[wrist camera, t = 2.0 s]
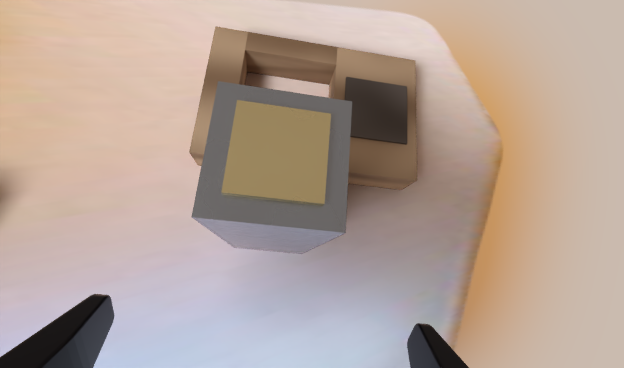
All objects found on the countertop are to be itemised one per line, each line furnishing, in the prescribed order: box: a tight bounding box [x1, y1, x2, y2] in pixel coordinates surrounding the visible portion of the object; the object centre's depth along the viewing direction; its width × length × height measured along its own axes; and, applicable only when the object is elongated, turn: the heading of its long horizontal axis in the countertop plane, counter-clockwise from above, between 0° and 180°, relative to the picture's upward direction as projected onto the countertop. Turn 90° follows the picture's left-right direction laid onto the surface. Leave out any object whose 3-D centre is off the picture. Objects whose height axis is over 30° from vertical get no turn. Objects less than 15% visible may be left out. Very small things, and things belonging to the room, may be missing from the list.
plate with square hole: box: [189, 27, 417, 190], centre depth 22 cm, size 10×15×3 cm, turn 85°
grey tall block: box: [192, 81, 352, 254], centre depth 15 cm, size 4×4×12 cm
